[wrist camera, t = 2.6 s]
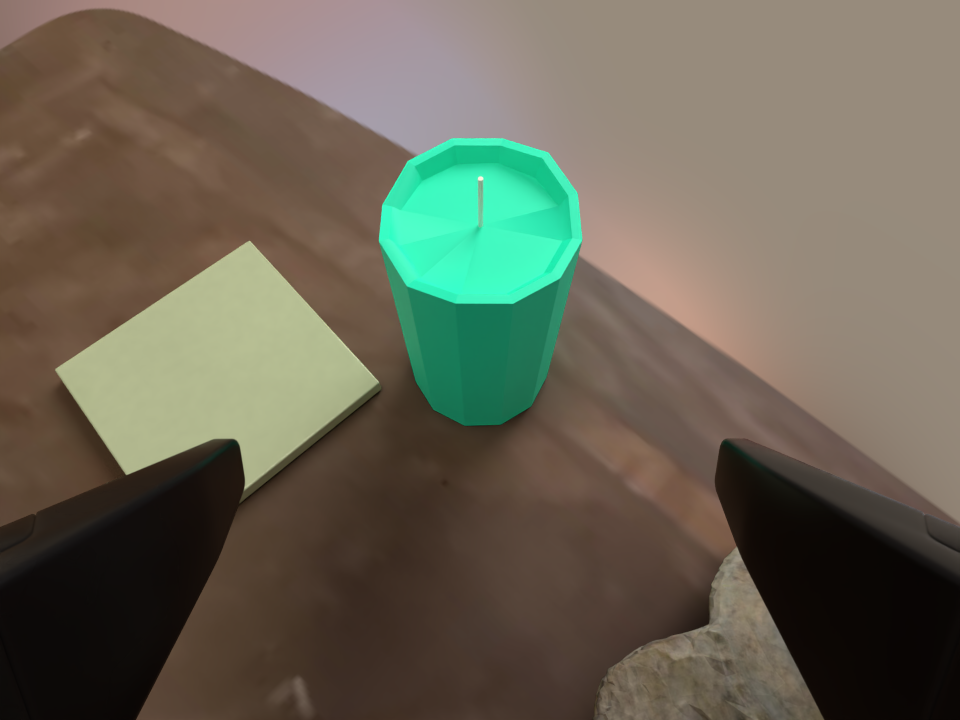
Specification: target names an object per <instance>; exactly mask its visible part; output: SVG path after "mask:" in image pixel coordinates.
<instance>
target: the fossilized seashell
mask: <svg viewBox="0 0 960 720" xmlns="http://www.w3.org/2000/svg"><path fill="white" fill-rule="evenodd" d="M593 720H824V719H823V717H822V715H821V713H820V711H819V709H818V707H817V705H816V703H815V701H814V699H813V697H812V695H811V693H810V691H809V689H808V687H807V685H806V684H805V682H804V680H803V678H802V676H801V674H800V672H799V670H798V668H797V666H796V664H795V662H794V660H793V658H792V656H791V654H790V652H789V650H788V648H787V646H786V645H785V643H784V641H783V639H782V637H781V635H780V633H779V631H778V629H777V627H776V625H775V623H774V621H773V619H772V617H771V615H770V613H769V611H768V609H767V607H766V606H765V604H764V602H763V600H762V598H761V596H760V594H759V592H758V590H757V588H756V586H755V584H754V582H753V580H752V578H751V576H750V574H749V572H748V570H747V568H746V566H745V564H744V562H743V560H742V558H741V556H740V553H739V551H738V548H737V547H736V548H735V549H734V550H733V551H732V552H731V553H730V554H729V555H728V556H727V557H726V558H725V559H724V560H723V562H722V564H721V566H720V567H719V569H718V573H717V574H716V576H715V578H714V581H713V582H712V584H711V591H710V595H709V624H708V625H706V626H704V627H701V628H699V629H696V630H693V631H689V632H686V633H682V634H677V635H673V636H670V637H668V638H665V639H660V640H654V641H652V642H649V643H647V644H646V645H645V646H641V647H639V648H638V649H636V650H634V651H633V652H631V653H630V654H629V655H627V656H626V657H625V658H624V659H623V660H622V661H620V662H619V663H617V664H616V665H614V666H612V667H610V668H609V669H608V670H607V673H606V675H605V676H604V677H603V678H602V679H601V682H600V685H599V688H598V692H597V694H596V701H595V705H594V718H593Z"/></svg>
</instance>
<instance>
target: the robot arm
mask: <svg viewBox="0 0 960 720" xmlns="http://www.w3.org/2000/svg"><path fill="white" fill-rule="evenodd" d="M244 488H245V474H244V468H243V462H242V455H241V449H240V445H239V443H238V441H237V440H235V439H212V440H210V441H207V442H205V443H202V444H200V445H198V446H195V447H193V448H190V449H188V450H186V451H183V452H181V453H178V454H176V455H174V456H171V457H169V458H166V459H164V460H161V461H159V462H157V463H154V464H152V465H149V466H147V467H145V468H142V469H140V470H137V471H135V472H132V473H130V474H128V475H125V476H123V477H120V478H118V479H116V480H113V481H111V482H108V483H106V484H104V485H101V486H99V487H96V488H94V489H91V490H89V491H87V492H84V493H82V494H79V495H77V496H75V497H72V498H70V499H67V500H65V501H63V502H60V503H58V504H55V505H53V506H50V507H48V508H46V509H43V510H41V511H38V512H37V514H36V515H35V514H31V515H28V516H26V517H24V518H21V519H19V520H16V521H14V522H12V523H9V524H7V525H4V526H2V527H0V720H136V719H137V717H138V715H139V713H140V711H141V709H142V707H143V705H144V703H145V701H146V699H147V697H148V695H149V693H150V691H151V689H152V687H153V685H154V684H155V682H156V680H157V678H158V676H159V674H160V672H161V670H162V668H163V666H164V664H165V662H166V660H167V658H168V656H169V654H170V652H171V650H172V648H173V646H174V645H175V643H176V641H177V639H178V637H179V635H180V633H181V631H182V629H183V627H184V625H185V623H186V621H187V619H188V617H189V615H190V613H191V611H192V609H193V607H194V606H195V604H196V602H197V600H198V598H199V596H200V594H201V592H202V590H203V588H204V586H205V584H206V582H207V580H208V578H209V576H210V574H211V572H212V570H213V568H214V566H215V564H216V562H217V560H218V558H219V556H220V553H221V551H222V548H223V546H224V543H225V540H226V538H227V535H228V532H229V529H230V527H231V524H232V521H233V519H234V516H235V513H236V511H237V508H238V505H239V502H240V500H241V497H242V494H243V492H244ZM715 488H716V492H717V494H718V497H719V500H720V502H721V505H722V508H723V511H724V513H725V516H726V519H727V521H728V524H729V527H730V529H731V532H732V535H733V538H734V540H735V543H736V546H737V548H738V551H739V553H740V556H741V558H742V560H743V562H744V564H745V566H746V568H747V570H748V572H749V574H750V576H751V578H752V580H753V582H754V584H755V586H756V588H757V590H758V592H759V594H760V596H761V598H762V600H763V602H764V604H765V606H766V607H767V609H768V611H769V613H770V615H771V617H772V619H773V621H774V623H775V625H776V627H777V629H778V631H779V633H780V635H781V637H782V639H783V641H784V643H785V645H786V646H787V648H788V650H789V652H790V654H791V656H792V658H793V660H794V662H795V664H796V666H797V668H798V670H799V672H800V674H801V676H802V678H803V680H804V682H805V684H806V685H807V687H808V689H809V691H810V693H811V695H812V697H813V699H814V701H815V703H816V705H817V707H818V709H819V711H820V713H821V715H822V717H823V719H824V720H960V527H958V526H956V525H953V524H951V523H948V522H946V521H944V520H941V519H939V518H936V517H934V516H932V515H929V514H925V515H924V514H923V512H922V511H919V510H917V509H914V508H912V507H910V506H907V505H905V504H902V503H900V502H897V501H895V500H893V499H890V498H888V497H885V496H883V495H881V494H878V493H876V492H873V491H871V490H869V489H866V488H864V487H861V486H859V485H856V484H854V483H852V482H849V481H847V480H844V479H842V478H840V477H837V476H835V475H832V474H830V473H828V472H825V471H823V470H820V469H818V468H815V467H813V466H811V465H808V464H806V463H803V462H801V461H799V460H796V459H794V458H791V457H789V456H786V455H784V454H782V453H779V452H777V451H774V450H772V449H770V448H767V447H765V446H762V445H760V444H758V443H755V442H753V441H750V440H748V439H725V440H723V441H722V443H721V445H720V449H719V455H718V462H717V468H716V474H715Z"/></svg>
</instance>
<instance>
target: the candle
mask: <svg viewBox="0 0 960 720" xmlns="http://www.w3.org/2000/svg"><path fill="white" fill-rule="evenodd" d="M379 243H380V247H381V251H382V255H383V259H384V262H385V266H386V270H387V274H388V278H389V282H390V285H391V289H392V293H393V297H394V301H395V305H396V308H397V312H398V316H399V320H400V324H401V328H402V331H403V335H404V339H405V343H406V347H407V351H408V354H409V358H410V362H411V366H412V370H413V374H414V377H415V381H416V383H417V385H418V386H419V388H420V389H421V391H422V393H423V394H424V396H425V397H426V399H427V401H428V402H429V404H430V405H431V407H432V409H433V410H435V411H437V412H439V413H441V414H443V415H444V416H446V417H448V418H450V419H452V420H454V421H456V422H458V423H460V424H462V425H464V426H476V425H501V424H503V423H505V422H506V421H508V420H510V419H511V418H513V417H515V416H516V415H518V414H520V413H521V412H523V411H525V410H526V409H528V408H530V407H531V406H532V404H533V402H534V400H535V398H536V396H537V394H538V393H539V391H540V389H541V387H542V385H543V383H544V381H545V379H546V377H547V374H548V370H549V366H550V362H551V358H552V354H553V351H554V347H555V343H556V339H557V335H558V331H559V328H560V324H561V320H562V316H563V312H564V309H565V305H566V301H567V297H568V293H569V289H570V286H571V282H572V278H573V274H574V270H575V266H576V263H577V259H578V255H579V251H580V247H581V243H582V231H581V222H580V211H579V202H578V193H577V192H576V190H575V189H574V188H573V186H572V185H571V183H570V182H569V181H568V179H567V178H566V176H565V175H564V174H563V172H562V171H561V169H560V168H559V167H558V165H557V164H556V162H555V161H554V160H553V158H552V157H551V155H550V154H549V153H548V152H545V151H541V150H538V149H535V148H532V147H528V146H525V145H522V144H519V143H515V142H512V141H509V140H506V139H502V138H500V139H499V138H497V139H496V138H452V139H450V140H448V141H446V142H444V143H442V144H440V145H438V146H436V147H434V148H432V149H430V150H428V151H427V152H425V153H423V154H421V155H419V156H417V157H415V158H413V159H411V160H409V161H408V162H407V164H406V165H405V167H404V169H403V171H402V172H401V174H400V176H399V177H398V179H397V181H396V183H395V184H394V186H393V188H392V189H391V191H390V193H389V195H388V196H387V198H386V200H385V201H384V203H383V205H382V216H381V226H380V236H379Z"/></svg>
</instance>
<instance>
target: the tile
mask: <svg viewBox="0 0 960 720" xmlns="http://www.w3.org/2000/svg"><path fill="white" fill-rule="evenodd" d="M55 371H56V373H57V374H58V376H59V377H60V379H61V380H62V382H63V383H64V385H65V386H66V388H67V389H68V391H69V392H70V393H71V395H72V396H73V398H74V399H75V401H76V402H77V404H78V405H79V407H80V408H81V410H82V411H83V413H84V414H85V416H86V417H87V418H88V420H89V421H90V423H91V424H92V426H93V427H94V429H95V430H96V432H97V433H98V435H99V436H100V438H101V439H102V441H103V442H104V444H105V445H106V446H107V448H108V449H109V451H110V452H111V454H112V455H113V457H114V458H115V460H116V461H117V463H118V464H119V466H120V467H121V469H122V470H123V471H124V473H125V474H126V475H128V474H130V473H132V472H135V471H137V470H140V469H142V468H145V467H147V466H149V465H152V464H154V463H157V462H159V461H161V460H164V459H166V458H169V457H171V456H174V455H176V454H178V453H181V452H183V451H186V450H188V449H190V448H193V447H195V446H198V445H200V444H202V443H205V442H207V441H210V440H212V439H235V440H237V441H238V443H239V445H240V449H241V455H242V462H243V468H244V474H245V488H244V492H243V494H242V497H241V500H240V502H239V503H241V502H242V501H243V500H244V499H245V498H247V497H248V496H249V495H250V494H252V493H253V492H254V491H255V490H257V489H258V488H259V487H260V486H262V485H263V484H264V483H265V482H267V481H268V480H269V479H270V478H272V477H273V476H274V475H275V474H277V473H278V472H279V471H280V470H282V469H283V468H284V467H285V466H287V465H288V464H289V463H290V462H291V461H293V460H294V459H295V458H296V457H298V456H299V455H300V454H301V453H303V452H304V451H305V450H306V449H308V448H309V447H310V446H311V445H313V444H314V443H315V442H316V441H318V440H319V439H320V438H321V437H323V436H324V435H325V434H326V433H328V432H329V431H330V430H331V429H333V428H334V427H335V426H336V425H337V424H339V423H340V422H341V421H342V420H344V419H345V418H346V417H347V416H349V415H350V414H351V413H352V412H354V411H355V410H356V409H357V408H359V407H360V406H361V405H362V404H364V403H365V402H366V401H367V400H369V399H370V398H371V397H372V396H374V395H375V394H376V393H377V392H379V391H380V390H381V389H382V388H381V385H380V383H379V381H378V380H377V379H376V378H375V377H374V376H373V375H372V373H371V372H370V371H369V370H368V369H367V368H366V367H365V366H364V365H363V364H362V363H361V361H360V360H359V359H358V358H357V357H356V356H355V355H354V354H353V353H352V352H351V351H350V349H349V348H348V347H347V346H346V345H345V344H344V343H343V342H342V341H341V340H340V339H339V337H338V336H337V335H336V334H335V333H334V332H333V331H332V330H331V329H330V328H329V327H328V325H327V324H326V323H325V322H324V321H323V320H322V319H321V318H320V317H319V316H318V315H317V313H316V312H315V311H314V310H313V309H312V308H311V307H310V306H309V305H308V304H307V303H306V301H305V300H304V299H303V298H302V297H301V296H300V295H299V294H298V293H297V292H296V291H295V289H294V288H293V287H292V286H291V285H290V284H289V283H288V282H287V281H286V280H285V279H284V277H283V276H282V275H281V274H280V273H279V272H278V271H277V270H276V269H275V268H274V267H273V265H272V264H271V263H270V262H269V261H268V260H267V259H266V258H265V257H264V256H263V255H262V253H261V252H260V251H259V250H258V249H257V248H256V247H255V246H254V245H253V244H252V243H251V242H250V241H248V242H246V243H245V244H243V245H242V246H240V247H239V248H237V249H236V250H234V251H233V252H231V253H230V254H228V255H227V256H225V257H224V258H222V259H221V260H219V261H218V262H216V263H215V264H213V265H212V266H210V267H209V268H207V269H206V270H204V271H203V272H201V273H200V274H198V275H196V276H195V277H193V278H192V279H190V280H189V281H187V282H186V283H184V284H183V285H181V286H180V287H178V288H177V289H175V290H174V291H172V292H171V293H169V294H168V295H166V296H165V297H163V298H162V299H160V300H159V301H157V302H156V303H154V304H153V305H151V306H150V307H148V308H147V309H145V310H144V311H142V312H141V313H139V314H138V315H136V316H135V317H133V318H132V319H130V320H129V321H127V322H126V323H124V324H123V325H121V326H120V327H118V328H117V329H115V330H114V331H112V332H111V333H109V334H107V335H106V336H104V337H103V338H101V339H100V340H98V341H97V342H95V343H94V344H92V345H91V346H89V347H88V348H86V349H85V350H83V351H82V352H80V353H79V354H77V355H76V356H74V357H73V358H71V359H70V360H68V361H67V362H65V363H64V364H62V365H61V366H59V367H58V368H56V369H55Z"/></svg>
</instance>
